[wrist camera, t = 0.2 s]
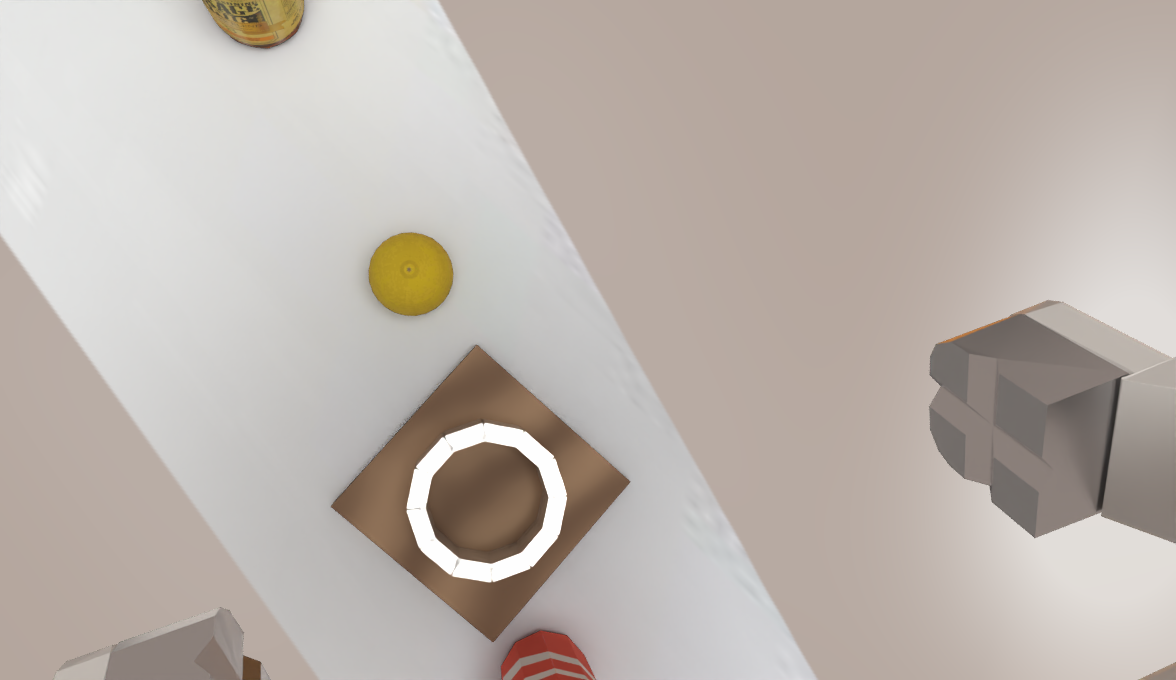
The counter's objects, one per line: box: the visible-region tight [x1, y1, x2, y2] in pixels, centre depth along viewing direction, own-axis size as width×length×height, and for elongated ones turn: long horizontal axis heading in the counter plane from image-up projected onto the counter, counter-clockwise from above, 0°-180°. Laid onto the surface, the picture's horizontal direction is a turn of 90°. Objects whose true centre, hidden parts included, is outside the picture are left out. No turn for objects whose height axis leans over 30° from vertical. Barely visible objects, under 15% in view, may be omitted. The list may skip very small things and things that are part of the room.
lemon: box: [369, 233, 453, 316], centre depth 58 cm, size 6×6×8 cm
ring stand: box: [331, 345, 630, 642], centre depth 62 cm, size 15×15×1 cm
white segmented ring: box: [407, 419, 567, 582], centre depth 60 cm, size 10×10×4 cm
